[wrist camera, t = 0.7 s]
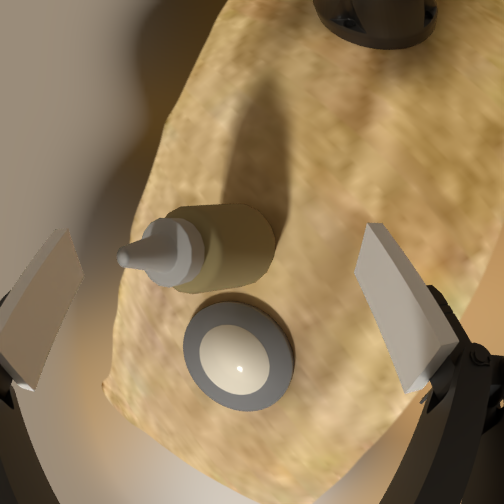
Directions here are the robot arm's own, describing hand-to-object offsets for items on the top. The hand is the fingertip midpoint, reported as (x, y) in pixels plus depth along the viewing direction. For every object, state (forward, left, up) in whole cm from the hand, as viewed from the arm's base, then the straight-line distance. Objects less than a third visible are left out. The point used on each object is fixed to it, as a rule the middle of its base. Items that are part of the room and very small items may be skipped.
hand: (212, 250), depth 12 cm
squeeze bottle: (+7, 0, -19) cm, 20 cm away
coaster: (+11, +13, -19) cm, 25 cm away
